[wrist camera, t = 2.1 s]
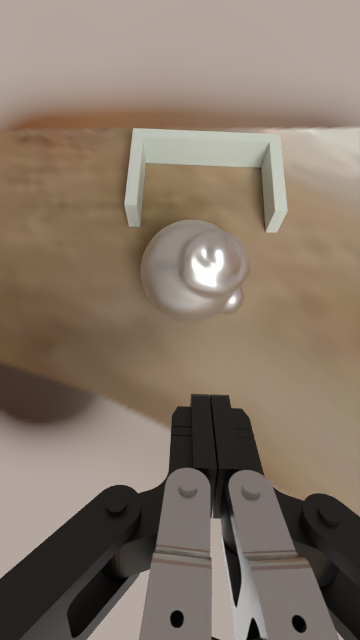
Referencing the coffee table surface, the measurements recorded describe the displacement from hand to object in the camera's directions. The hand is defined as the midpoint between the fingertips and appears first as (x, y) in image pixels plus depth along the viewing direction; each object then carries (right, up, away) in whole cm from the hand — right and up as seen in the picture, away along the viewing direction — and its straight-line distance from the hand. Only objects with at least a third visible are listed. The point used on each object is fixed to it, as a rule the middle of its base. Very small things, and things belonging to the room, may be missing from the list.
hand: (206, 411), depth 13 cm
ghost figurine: (0, +6, +19) cm, 20 cm away
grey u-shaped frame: (+2, +18, +23) cm, 30 cm away
